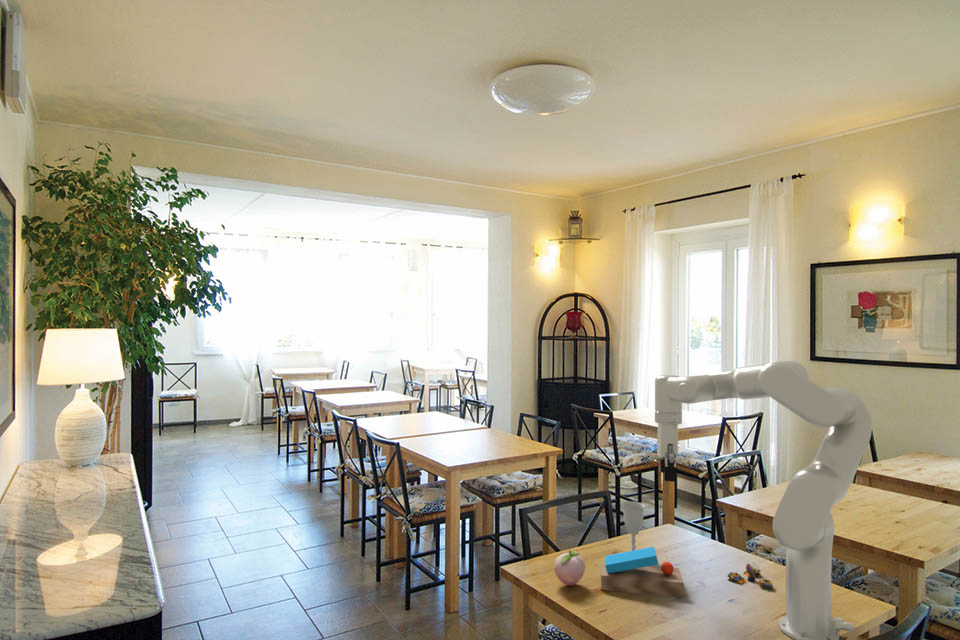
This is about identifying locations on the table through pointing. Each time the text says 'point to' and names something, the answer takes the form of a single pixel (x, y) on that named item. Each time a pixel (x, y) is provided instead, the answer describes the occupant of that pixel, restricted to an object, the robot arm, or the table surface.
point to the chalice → (633, 518)
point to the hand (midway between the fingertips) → (668, 476)
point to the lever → (636, 561)
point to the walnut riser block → (643, 581)
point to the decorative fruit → (569, 568)
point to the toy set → (750, 577)
